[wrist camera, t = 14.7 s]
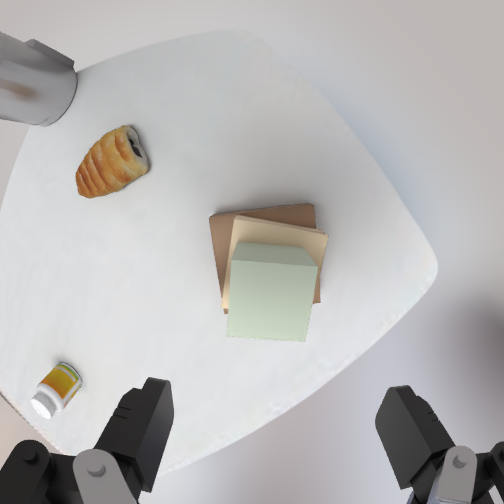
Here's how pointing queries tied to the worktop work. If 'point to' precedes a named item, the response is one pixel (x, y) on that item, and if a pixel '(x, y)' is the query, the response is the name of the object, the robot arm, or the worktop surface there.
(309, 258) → the sage block
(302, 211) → the block bottom
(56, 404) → the supplement bottle
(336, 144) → the worktop surface
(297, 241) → the block top
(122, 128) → the pastry
